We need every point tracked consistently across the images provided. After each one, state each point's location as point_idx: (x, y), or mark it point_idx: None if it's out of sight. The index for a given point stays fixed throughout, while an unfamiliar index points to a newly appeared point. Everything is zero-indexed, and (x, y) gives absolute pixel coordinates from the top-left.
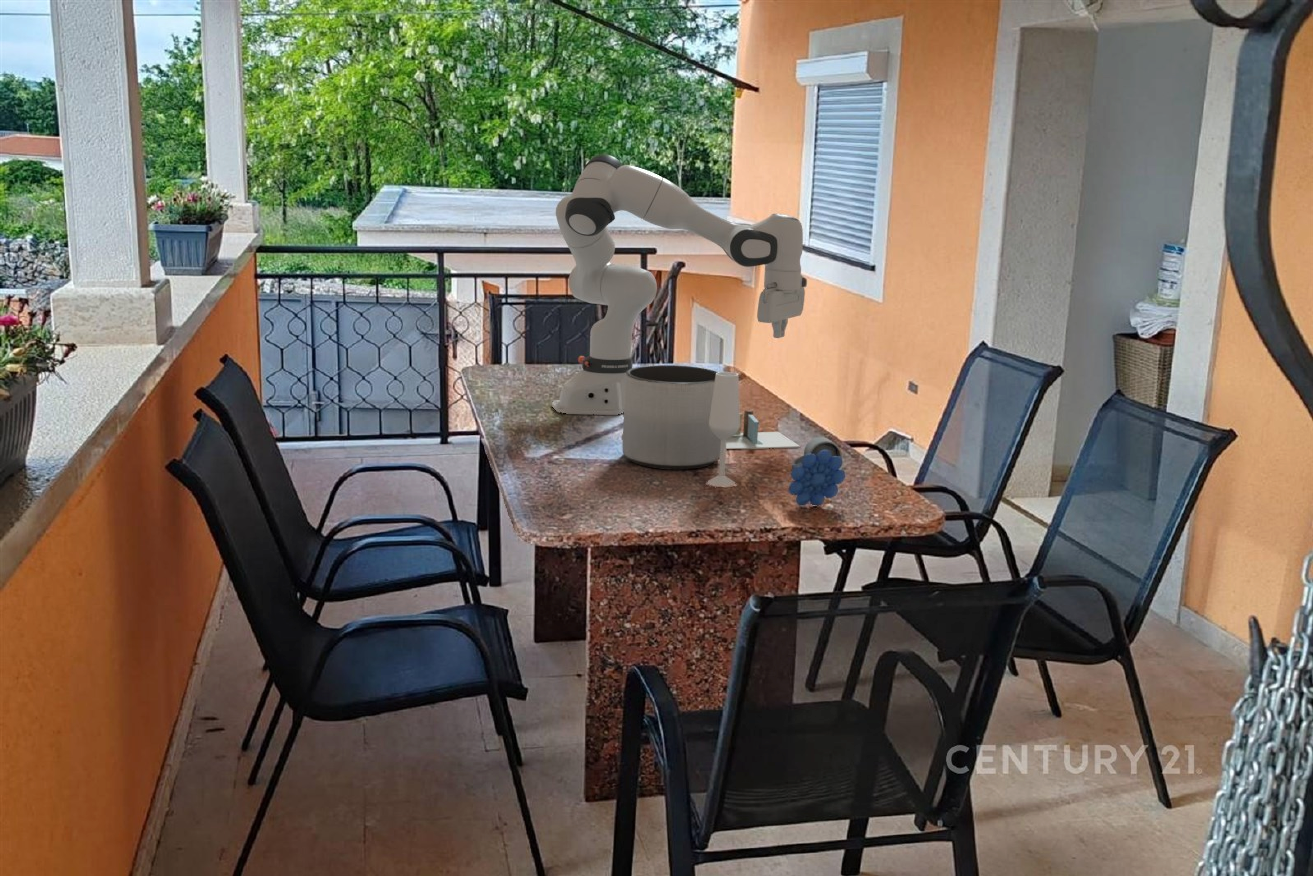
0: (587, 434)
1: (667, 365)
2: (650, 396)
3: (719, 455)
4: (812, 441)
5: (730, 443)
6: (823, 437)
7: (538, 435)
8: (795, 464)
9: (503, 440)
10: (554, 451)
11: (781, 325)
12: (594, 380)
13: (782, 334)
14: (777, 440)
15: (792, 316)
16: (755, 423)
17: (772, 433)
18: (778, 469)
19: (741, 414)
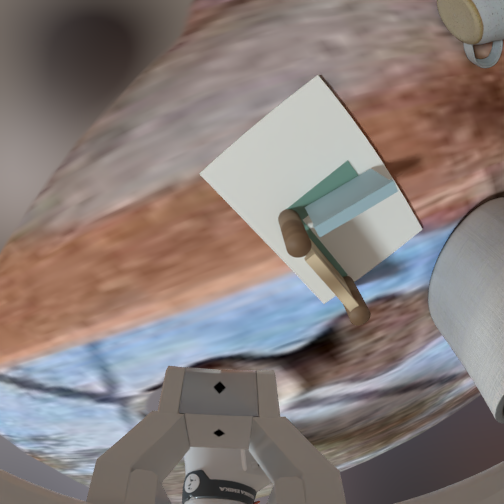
0: (384, 401)
1: (501, 411)
2: None
3: (498, 199)
4: (500, 28)
5: (374, 224)
6: (484, 4)
7: (404, 421)
8: (497, 59)
9: (431, 422)
10: (467, 376)
11: (161, 463)
12: (260, 481)
13: (214, 384)
14: (292, 141)
15: (18, 488)
16: (395, 187)
17: (225, 178)
18: (490, 88)
19: (316, 254)
